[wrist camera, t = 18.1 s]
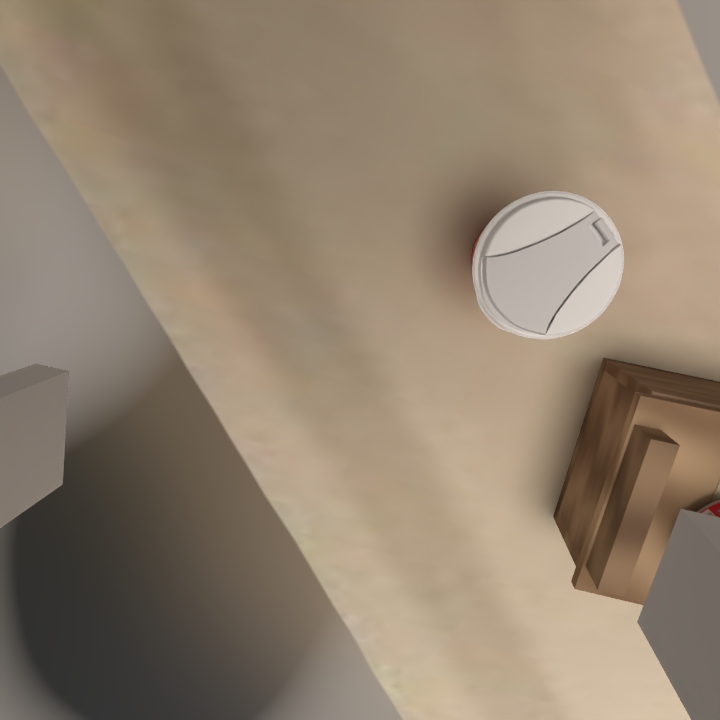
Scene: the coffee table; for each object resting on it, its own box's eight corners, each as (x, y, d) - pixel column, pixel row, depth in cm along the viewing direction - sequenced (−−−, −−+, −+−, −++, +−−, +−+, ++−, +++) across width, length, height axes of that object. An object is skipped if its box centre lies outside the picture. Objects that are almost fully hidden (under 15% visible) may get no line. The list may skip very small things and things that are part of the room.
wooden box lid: (635, 391, 32) (658, 408, 29) (839, 434, 32) (884, 456, 29) (571, 581, 36) (585, 614, 33) (754, 624, 35) (786, 662, 32)
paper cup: (521, 181, 39) (573, 154, 25) (582, 264, 40) (665, 280, 26) (435, 250, 41) (441, 259, 27) (495, 328, 42) (531, 374, 28)
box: (603, 357, 41) (652, 391, 33) (763, 391, 40) (856, 434, 32) (553, 517, 45) (585, 585, 36) (699, 550, 44) (767, 628, 35)
